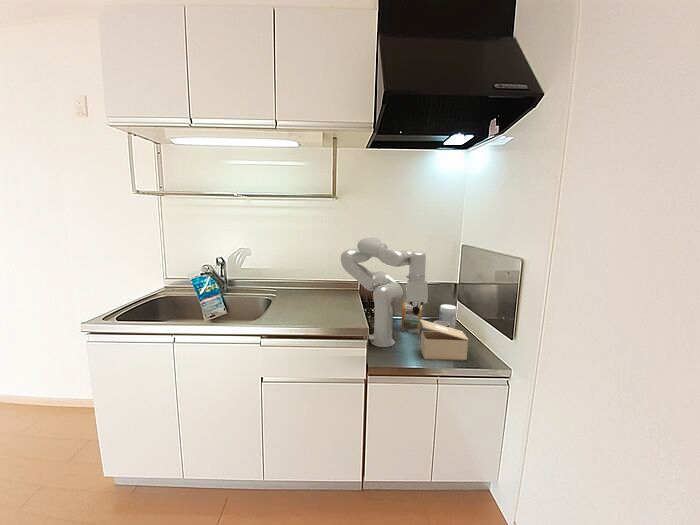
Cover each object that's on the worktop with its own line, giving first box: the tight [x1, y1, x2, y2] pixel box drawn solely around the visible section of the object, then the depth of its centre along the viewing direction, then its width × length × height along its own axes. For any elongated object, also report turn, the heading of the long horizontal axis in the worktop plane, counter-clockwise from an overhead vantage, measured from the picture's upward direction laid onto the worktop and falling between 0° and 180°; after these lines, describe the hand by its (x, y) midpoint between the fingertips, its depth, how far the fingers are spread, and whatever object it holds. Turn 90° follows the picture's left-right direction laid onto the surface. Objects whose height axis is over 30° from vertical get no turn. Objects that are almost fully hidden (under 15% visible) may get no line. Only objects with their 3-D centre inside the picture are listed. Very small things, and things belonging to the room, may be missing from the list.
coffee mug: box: [432, 320, 450, 332], centre depth 187 cm, size 12×9×10 cm
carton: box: [420, 330, 469, 361], centre depth 167 cm, size 20×11×10 cm, turn 87°
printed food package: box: [400, 297, 423, 335], centre depth 201 cm, size 11×11×19 cm
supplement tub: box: [438, 303, 457, 329], centre depth 201 cm, size 10×10×15 cm
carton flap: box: [420, 319, 469, 341], centre depth 166 cm, size 22×11×1 cm, turn 87°
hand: (415, 314), depth 165 cm, fingers closed
